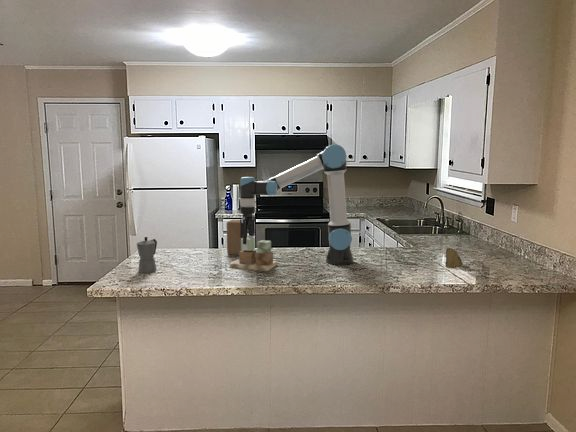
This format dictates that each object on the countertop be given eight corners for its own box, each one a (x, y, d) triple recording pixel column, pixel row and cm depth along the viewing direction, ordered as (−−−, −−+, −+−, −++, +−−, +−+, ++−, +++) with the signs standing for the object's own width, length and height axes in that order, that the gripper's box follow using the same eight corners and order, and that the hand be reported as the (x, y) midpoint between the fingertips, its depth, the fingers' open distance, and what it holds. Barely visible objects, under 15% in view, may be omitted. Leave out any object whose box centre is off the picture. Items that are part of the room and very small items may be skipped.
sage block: (245, 248, 243) (245, 237, 242) (254, 248, 241) (254, 237, 240) (241, 250, 238) (240, 239, 237) (250, 250, 236) (250, 239, 235)
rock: (460, 259, 244) (442, 256, 245) (466, 249, 238) (447, 246, 238) (463, 275, 236) (444, 272, 237) (468, 265, 230) (449, 262, 231)
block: (242, 255, 263) (242, 222, 260) (226, 254, 265) (226, 221, 262) (247, 251, 273) (247, 219, 270) (232, 251, 275) (231, 219, 272)
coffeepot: (147, 275, 222) (146, 240, 220) (131, 273, 225) (129, 238, 223) (165, 267, 237) (163, 234, 234) (149, 266, 240) (148, 233, 237)
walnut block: (245, 259, 245) (245, 249, 244) (256, 260, 242) (256, 250, 242) (239, 262, 238) (239, 251, 238) (251, 263, 236) (251, 252, 235)
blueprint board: (276, 264, 242) (276, 261, 241) (267, 270, 230) (267, 267, 229) (240, 261, 249) (240, 257, 249) (229, 267, 238) (229, 263, 237)
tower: (273, 262, 239) (272, 240, 237) (267, 265, 232) (267, 243, 231) (261, 261, 241) (260, 239, 240) (255, 264, 235) (255, 242, 233)
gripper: (248, 203, 246) (249, 244, 249) (232, 207, 229) (233, 251, 232) (261, 204, 243) (261, 245, 247) (246, 208, 226) (246, 253, 229)
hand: (248, 248), depth 239 cm, fingers closed on sage block, 5 cm apart
